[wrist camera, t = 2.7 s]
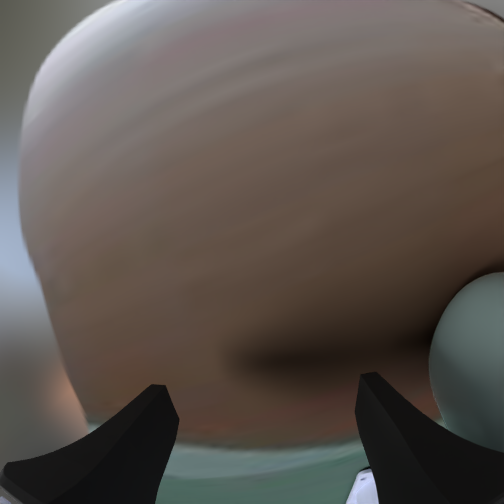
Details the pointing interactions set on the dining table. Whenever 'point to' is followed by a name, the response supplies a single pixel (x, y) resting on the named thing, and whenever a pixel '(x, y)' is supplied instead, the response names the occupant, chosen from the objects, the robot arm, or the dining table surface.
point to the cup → (471, 362)
